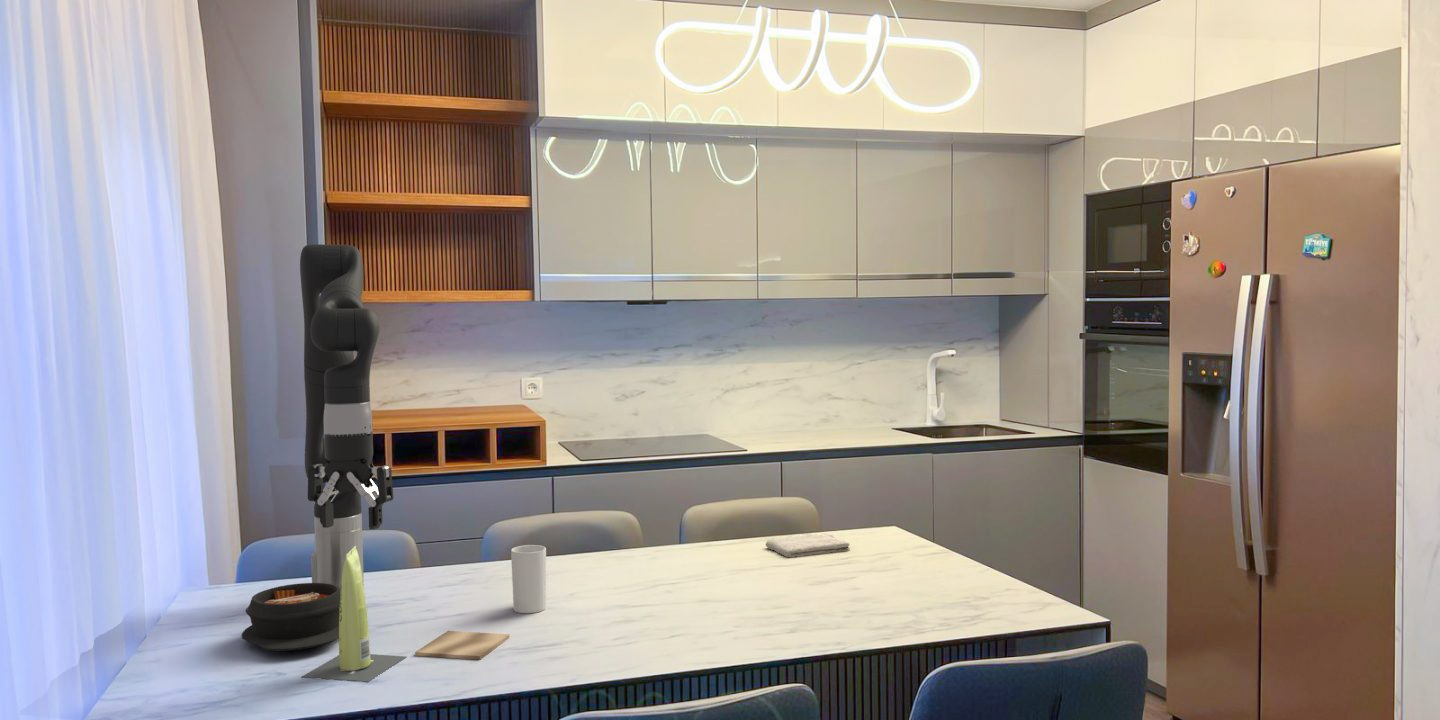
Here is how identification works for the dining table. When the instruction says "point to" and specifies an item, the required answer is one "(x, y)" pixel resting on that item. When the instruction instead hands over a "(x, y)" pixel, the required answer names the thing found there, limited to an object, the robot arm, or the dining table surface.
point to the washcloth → (807, 545)
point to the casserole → (294, 616)
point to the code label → (365, 675)
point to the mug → (529, 578)
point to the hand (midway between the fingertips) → (351, 527)
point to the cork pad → (462, 645)
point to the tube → (353, 617)
